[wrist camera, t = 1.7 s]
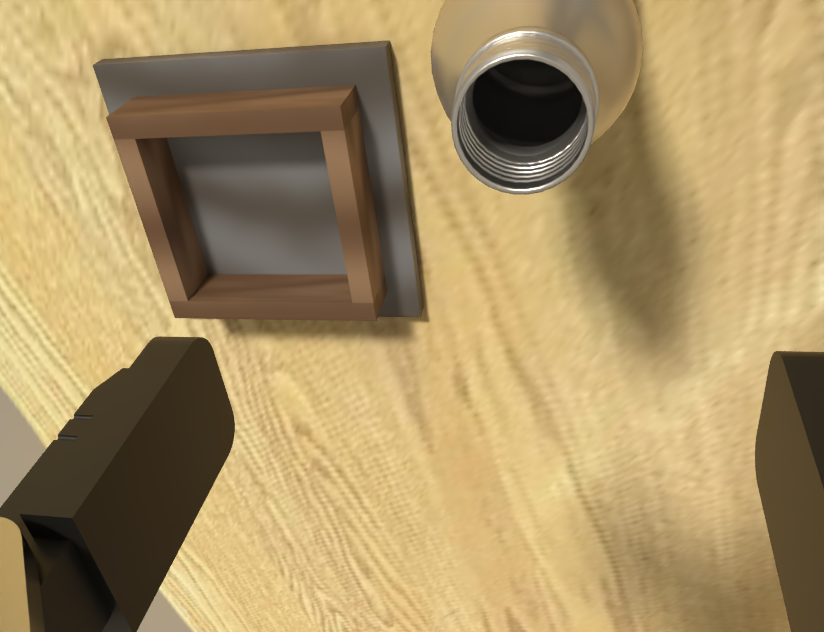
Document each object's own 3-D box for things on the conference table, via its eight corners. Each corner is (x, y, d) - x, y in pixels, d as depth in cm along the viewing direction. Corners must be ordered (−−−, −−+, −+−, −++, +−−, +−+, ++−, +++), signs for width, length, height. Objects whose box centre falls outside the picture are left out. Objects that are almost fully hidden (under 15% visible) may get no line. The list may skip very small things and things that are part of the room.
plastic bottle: (476, 33, 38) (392, 233, 22) (487, -127, 34) (395, -26, 18) (612, 43, 37) (628, 260, 21) (639, -120, 33) (686, -6, 17)
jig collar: (102, 59, 42) (62, 84, 39) (389, 40, 39) (371, 66, 36) (183, 305, 51) (156, 341, 48) (423, 307, 48) (411, 347, 45)
